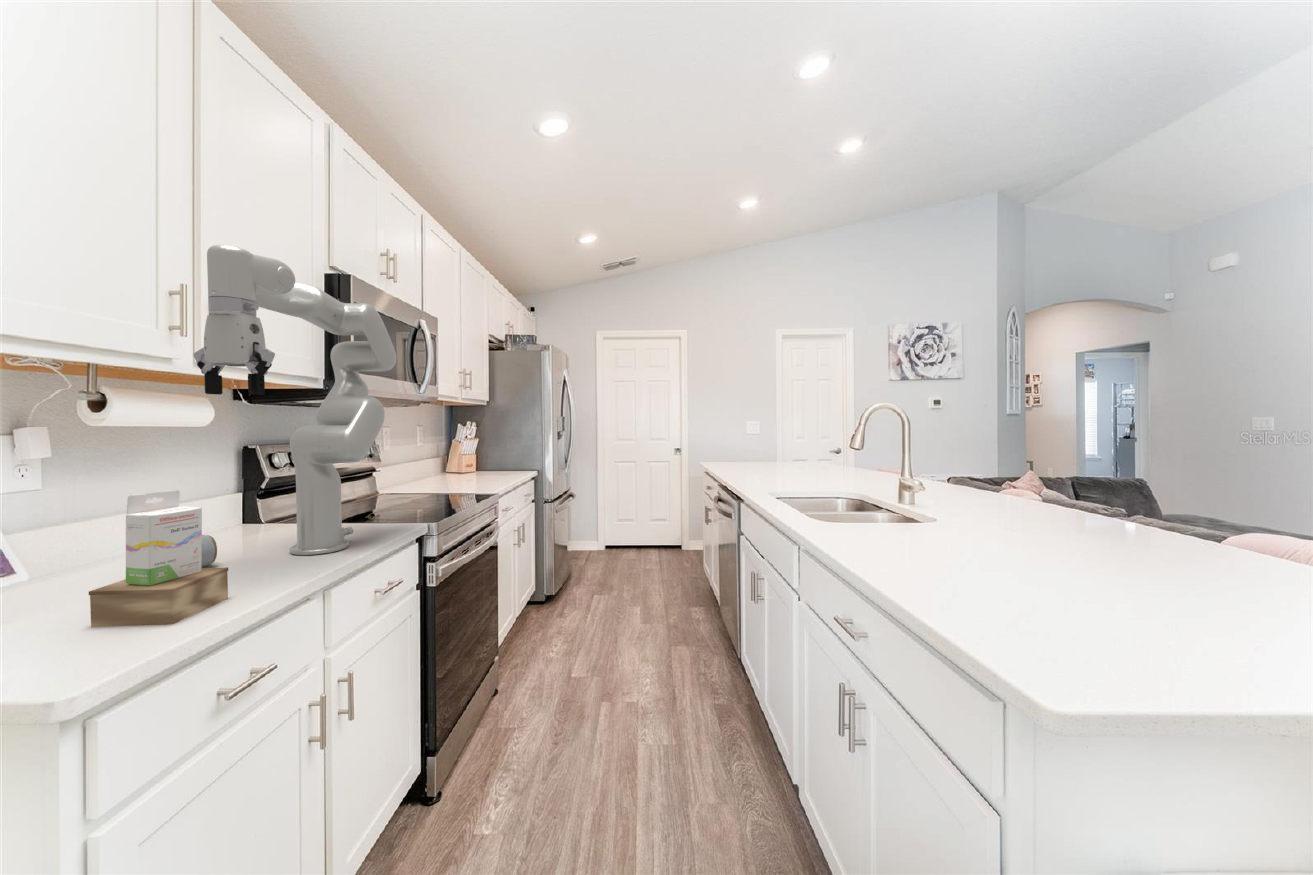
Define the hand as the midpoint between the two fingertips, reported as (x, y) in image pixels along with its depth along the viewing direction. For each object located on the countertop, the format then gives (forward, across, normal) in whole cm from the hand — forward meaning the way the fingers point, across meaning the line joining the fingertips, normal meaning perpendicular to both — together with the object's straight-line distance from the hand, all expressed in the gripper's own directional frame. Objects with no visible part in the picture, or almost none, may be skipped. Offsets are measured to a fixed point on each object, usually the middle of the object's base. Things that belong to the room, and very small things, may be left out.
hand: (235, 394), depth 104 cm
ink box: (+33, -4, +17) cm, 37 cm away
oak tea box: (+39, -4, +18) cm, 43 cm away
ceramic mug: (+39, +19, -5) cm, 43 cm away
